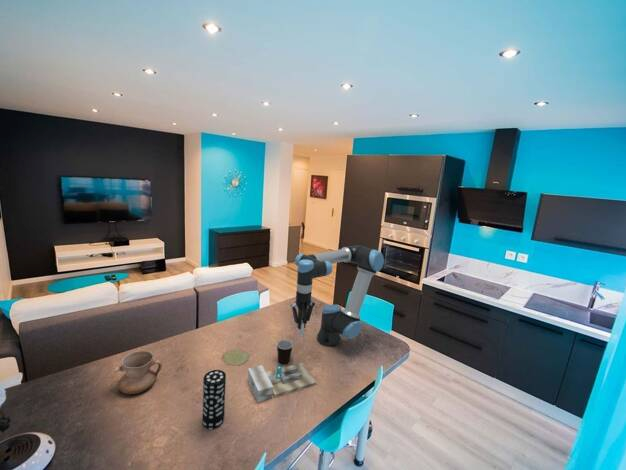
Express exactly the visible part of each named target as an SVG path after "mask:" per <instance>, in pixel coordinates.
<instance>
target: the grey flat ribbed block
mask: <svg viewBox="0 0 626 470" xmlns="http://www.w3.org/2000/svg"><path fill="white" fill-rule="evenodd" d="M276 373H277V368H275V369H273V370H269V371H266V370H265V368H264V366H263V365H257V366H254V367H248V369H247V382H248V383H249V386H250V388H251V391H252V393H253V395H254V398H255V400H256V402H257V403H261V402H264V401H268V400H271V399H273V397H274V398H278V397H281V396H283V395H287V394H291V393H294V392H297V391H300V390H303V389H307V388H309V387H313V386H316V385H317V381H316V379H315V378H314V376H313V375H312V374H311V372H310V371H309V370H308V368H307V367H306V366H305V364H304V363H303V362H299V363H295V364H292V365H287V366H284V367H283V366H282V372H281V373H284V375H285V377H284V378H282V381H281V382H277V383H274V384H272V383H271V381H270V379H269V378H268V377H269V376H273V375H276Z"/></svg>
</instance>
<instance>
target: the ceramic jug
mask: <svg viewBox="0 0 626 470" xmlns="http://www.w3.org/2000/svg"><path fill="white" fill-rule="evenodd" d="M120 364H121V365H120V366H119V365H118V366H117V367H115V368H114V372H122V373H124V374H122V376H121V377H120V378H119V381H117V382H116V385H117V387H118V390H119V391H120V392H121V393H123V394H126V395H136V394H139V393H142V392H144V391H146V390H148V389H149V388H151V387H152V386H153V385H154V383H155V382H156V381H157V377H158V374H159V373H160V371H161V369H162V368H163V367H162V366H163V363H162V361H161V360H159V359H156V360H154V354H153V352H152V351H150V350H135V351H133V352H130V353H129V354H126V355H124V357H123V358H122V359H121V363H120ZM156 364H157V365H158V368H157V369H156V371H154V369H152V367H153V366H154V365H156Z"/></svg>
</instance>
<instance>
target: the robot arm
mask: <svg viewBox="0 0 626 470" xmlns="http://www.w3.org/2000/svg"><path fill="white" fill-rule="evenodd" d="M294 259H295V260H294V262H295V265H296V266H297V273H296V274H297V275H296V276H297V277H296V278H297V281H296V292H295V293H296V294H295V301H294V303H293V304H291V305H290V309H291V310H292V316H293V321H294V322H295V323H296V324H297V329H298V335H300V336H301V337H303V336H304V331H305V329H306V325H307V324H308V322H309V321H310V319H311V316H312V312H313V310H314V307H315V305H316V303H315V302H314V301H313V300H312V291H313V280H314V279H317V278H321V277H322V278H323V277H327V276H329V275H331V274H332V272H333V264H337V263H342V262H344V263H352V264H356V265H357V266H356V268H357V270H358V272H357V273H356V277H355V280H354V283H353V286H352V289H351V292H350V295H349V298H348V300H347V303H346V306H345V308H344V309H342V307H341V306H340V305H338V304H328V305H327V304H326V305H324V306H323V307H322V312H321V324H320V329H319V331H318V333H317V335H316V340H317V341H316V342H318V343H319V344H320V345H322V346H325V347H330V348H332V347H337V346H339V345H340V344H341V339H342V338H341V336H343V337H344V338H346V339H349V340H351V339H352V340H353V339H355V338H356V337H358V336H359V334H360V333H361V331H362V328H363V326H362V323H361V315H360V312H361V309H362V307H363V303H364V301H365V298H366V296H367V293H368V290H369V286H370V283H371V282H372V281H371V280H372V278H373V276H375V275H376V274H377V272H380V271H381V270H382V269H383V267H384V263H385V258H384V255H383V253H382V252H381V251H379V250H376V249H375V248H374V249H373V248H369V247H367V246H364V245H349V246H343V247H342V248H341V249H335V250H330V251H325V252H319V253H313V254H305V253H299V254H297V255H296V257H295V258H294Z"/></svg>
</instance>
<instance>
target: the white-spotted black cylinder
mask: <svg viewBox="0 0 626 470" xmlns="http://www.w3.org/2000/svg"><path fill="white" fill-rule="evenodd" d="M202 380H203V385H202V391H203V392H202V420H201V421H202V426H203V427H204V429H207V430H214V429H218V428H219V427H221V426H222V425H223V423H224V422H225V411H226V410H225V408H226V407H225V406H226V405H225V404H226V385H227V384H226V383H227V382H226V381H227V375H226V372H225V371H223V370H220V369H214V370H210V371H208V372H206V373H205V374H204V376H203V379H202Z"/></svg>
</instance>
